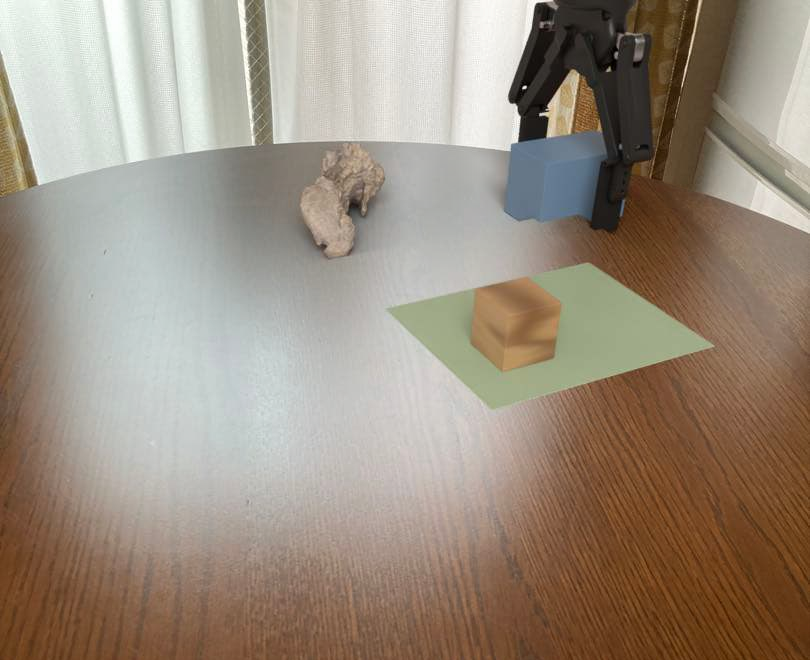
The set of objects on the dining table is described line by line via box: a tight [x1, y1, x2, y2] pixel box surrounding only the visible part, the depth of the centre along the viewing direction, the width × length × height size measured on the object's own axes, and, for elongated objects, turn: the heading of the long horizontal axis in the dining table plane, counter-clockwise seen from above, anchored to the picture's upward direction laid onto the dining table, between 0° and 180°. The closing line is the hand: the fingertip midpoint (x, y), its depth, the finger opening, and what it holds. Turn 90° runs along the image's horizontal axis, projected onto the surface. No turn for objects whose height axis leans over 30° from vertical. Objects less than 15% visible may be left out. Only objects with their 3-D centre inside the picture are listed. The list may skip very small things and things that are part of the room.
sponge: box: [504, 129, 626, 223], centre depth 89 cm, size 10×6×6 cm, turn 118°
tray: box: [384, 261, 716, 411], centre depth 72 cm, size 20×16×1 cm
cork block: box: [471, 276, 562, 372], centre depth 67 cm, size 4×4×4 cm
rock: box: [299, 140, 386, 260], centre depth 85 cm, size 6×14×7 cm, turn 165°
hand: (563, 207), depth 91 cm, fingers open, 12 cm apart
